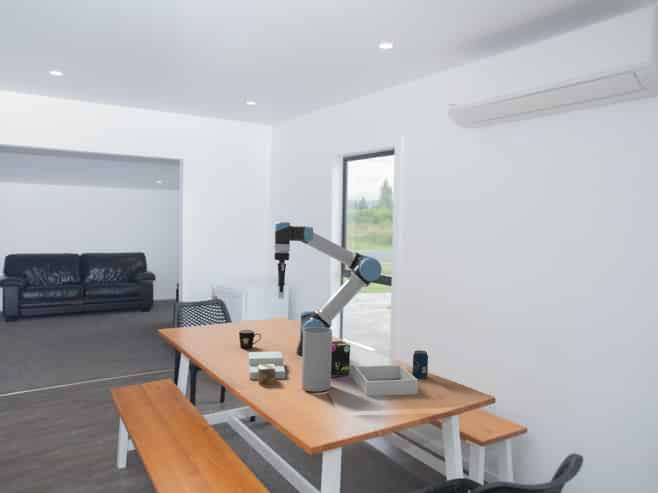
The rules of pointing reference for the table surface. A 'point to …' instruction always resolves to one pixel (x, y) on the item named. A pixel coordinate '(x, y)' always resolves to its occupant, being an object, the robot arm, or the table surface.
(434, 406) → the table surface
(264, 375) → the cube
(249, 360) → the steps
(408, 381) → the tray
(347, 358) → the tampon box
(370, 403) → the table surface
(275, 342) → the table surface
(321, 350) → the cylinder vase
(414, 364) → the soda can
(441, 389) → the table surface
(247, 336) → the coffee mug
